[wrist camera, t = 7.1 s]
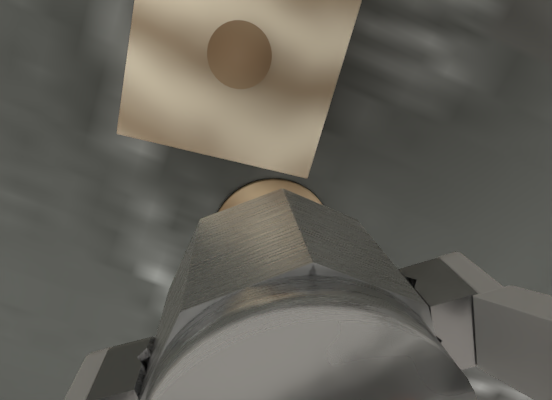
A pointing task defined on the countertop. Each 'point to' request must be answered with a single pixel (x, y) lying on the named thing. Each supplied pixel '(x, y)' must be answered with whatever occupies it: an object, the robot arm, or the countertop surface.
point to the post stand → (235, 77)
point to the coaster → (266, 191)
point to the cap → (294, 314)
